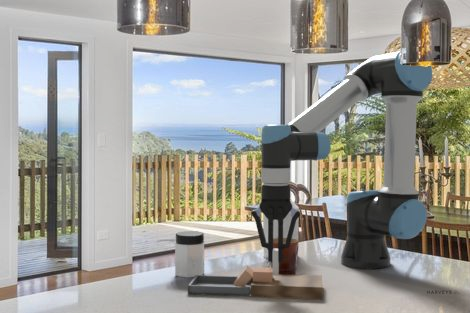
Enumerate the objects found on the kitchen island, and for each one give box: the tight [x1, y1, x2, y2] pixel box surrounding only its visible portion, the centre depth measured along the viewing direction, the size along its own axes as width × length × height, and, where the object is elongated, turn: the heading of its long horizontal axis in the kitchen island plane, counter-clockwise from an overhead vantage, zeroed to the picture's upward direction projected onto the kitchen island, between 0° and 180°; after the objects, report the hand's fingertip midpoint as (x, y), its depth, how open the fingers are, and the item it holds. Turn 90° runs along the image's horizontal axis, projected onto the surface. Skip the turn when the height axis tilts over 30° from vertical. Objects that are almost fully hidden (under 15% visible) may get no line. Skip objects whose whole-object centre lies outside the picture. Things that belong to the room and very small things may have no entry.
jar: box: [174, 230, 205, 279], centre depth 175 cm, size 9×8×12 cm
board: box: [250, 274, 324, 300], centre depth 156 cm, size 18×12×3 cm, turn 83°
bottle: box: [262, 198, 300, 259], centre depth 199 cm, size 12×12×25 cm
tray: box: [187, 274, 253, 297], centre depth 159 cm, size 16×11×2 cm
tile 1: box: [233, 265, 254, 287], centre depth 158 cm, size 5×5×2 cm
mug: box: [270, 238, 300, 275], centre depth 174 cm, size 12×9×10 cm
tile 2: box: [252, 266, 273, 282], centre depth 157 cm, size 5×5×2 cm
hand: (275, 274), depth 156 cm, fingers closed
